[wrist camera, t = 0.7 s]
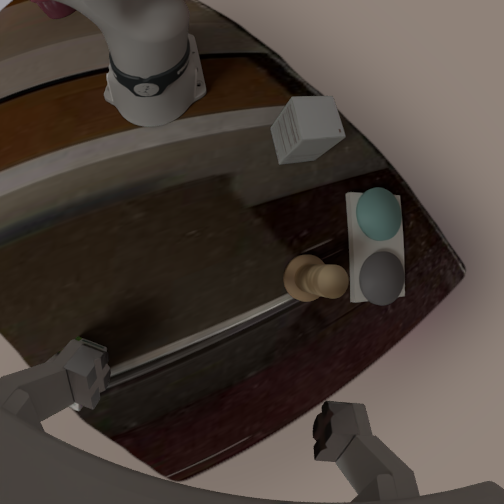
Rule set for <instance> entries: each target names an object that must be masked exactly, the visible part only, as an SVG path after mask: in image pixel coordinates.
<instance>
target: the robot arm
mask: <svg viewBox="0 0 504 504" xmlns="http://www.w3.org/2000/svg"><path fill="white" fill-rule="evenodd" d="M54 1H57V2H60V3H63V4H66V5H68V6H70V7H72V8H74V9H76V10H77V11H79V12H80V13H82V14H83V15H85V16H86V17H87V18H89V19H90V20H91V21H92V22H94V23H95V24H96V25H97V26H98V27H99V29H100V30H101V31H102V33H103V35H104V37H105V40H106V42H107V45H108V47H109V50H110V53H109V59H110V64H109V69H110V70H109V73H107V82H108V84H107V87H106V90H105V92H104V97H105V100H106V101H108V102H109V103H111V104H113V105H115V106H116V107H117V109H118V110H119V112H120V113H121V115H122V116H123V117H124V118H125V119H127V120H128V121H130V122H131V123H134V124H136V125H140V126H146V127H153V126H160V125H164V124H167V123H169V122H171V121H173V120H175V119H177V118H178V117H180V116H181V115H182V114H183V113H184V112H185V111H186V110H187V109H188V107H189V106H190V105H191V104H192V103H193V102H195V101H197V100H198V99H200V98H202V97H203V96H205V94H206V85H205V81H204V76H203V72H202V67H201V63H200V58H199V54H198V49H197V44H196V40H195V37H194V36H193V35H191V34H189V33H188V28H189V9H188V7H187V5H186V3H185V1H184V0H54ZM197 85H200V86H199V87H198V86H197ZM108 361H109V354H108V353H107V352H106V351H103V350H101V349H98V348H95V347H93V346H90V345H88V344H85V343H82V342H80V341H77V340H75V339H74V340H71V341H70V342H69V343H68V344H67V346H66V347H65V348H64V349H63V350H62V351H61V352H60V354H59V355H58V356H57V357H56V358H55V359H54V361H53V362H52V363H51V362H46V363H43V364H40V365H37V366H34V367H31V368H28V369H25V370H22V371H19V372H16V373H12V374H9V375H6V376H3V377H1V378H0V504H504V489H503V488H501V487H500V486H499V485H497V484H496V483H494V482H491V481H487V482H482V483H478V484H475V485H471V486H467V487H463V488H459V489H454V490H450V491H445V492H440V493H435V494H430V495H423V496H420V495H419V491H418V487H417V484H416V480H415V476H414V472H413V471H412V470H411V469H410V468H409V467H408V466H407V465H406V464H405V463H404V462H403V461H402V460H400V458H398V457H397V456H396V455H395V454H394V453H393V452H392V451H391V450H390V449H389V448H388V447H387V446H386V445H385V444H384V443H383V442H382V441H381V440H380V439H379V438H377V437H376V436H373V435H372V432H371V427H370V423H369V420H368V415H367V411H366V408H365V405H364V404H357V403H345V402H334V401H325V402H324V404H323V405H322V413H320V414H318V415H317V417H316V419H315V421H314V425H313V438H314V439H315V440H316V441H317V442H316V443H315V445H314V459H315V460H317V461H331V462H336V464H337V466H338V467H339V469H340V470H341V471H342V473H343V474H344V476H345V477H346V478H347V480H348V481H349V483H350V484H351V485H352V487H353V488H354V489H355V490H356V492H357V494H358V496H357V497H355V498H354V499H353V500H352V501H351V502H350V503H314V502H293V501H279V500H269V499H260V498H252V497H245V496H238V495H232V494H226V493H220V492H215V491H210V490H205V489H200V488H196V487H191V486H187V485H183V484H179V483H175V482H171V481H168V480H164V479H161V478H157V477H154V476H150V475H147V474H144V473H141V472H138V471H134V470H132V469H129V468H126V467H123V466H121V465H118V464H115V463H112V462H110V461H107V460H104V459H102V458H100V457H97V456H95V455H92V454H90V453H88V452H85V451H83V450H80V449H78V448H76V447H74V446H72V445H70V444H68V443H66V442H64V441H62V440H60V439H58V438H55V437H53V436H52V435H50V434H48V433H46V432H45V431H44V429H43V427H42V425H41V423H40V422H41V421H43V420H45V419H46V418H48V417H50V416H52V415H54V414H56V413H58V412H59V411H61V410H63V409H65V408H66V407H69V406H70V405H72V404H74V402H75V403H77V404H80V405H83V406H85V407H88V408H90V409H94V408H95V406H96V404H97V403H98V401H99V399H100V392H102V391H104V390H105V389H106V388H107V386H108V383H109V380H110V374H111V372H110V367H109V366H108V365H107V362H108Z"/></svg>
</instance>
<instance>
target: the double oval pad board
mask: <svg viewBox="0 0 504 504" xmlns="http://www.w3.org/2000/svg"><path fill="white" fill-rule="evenodd" d="M346 205H347V219H348V236H349V258H350V302H354V303H355V302H364V301H369V302H371V303H373V304H377V305H388V304H390V303H392V302H393V301H395V300H396V299H397V297H401V296H405V270H404V243H403V226H402V213H401V201H400V195H393V194H392V193H391V192H390V191H388V190H386V189H384V188H380V187H376V188H372V189H369V190H367V191H365V192H364V193H355V192H349V193H347V194H346Z"/></svg>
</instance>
